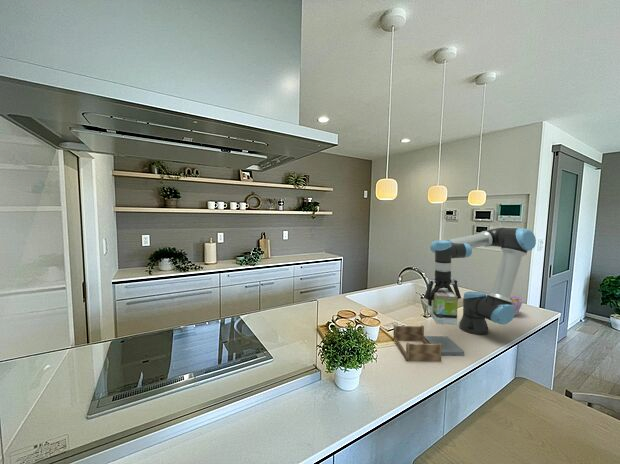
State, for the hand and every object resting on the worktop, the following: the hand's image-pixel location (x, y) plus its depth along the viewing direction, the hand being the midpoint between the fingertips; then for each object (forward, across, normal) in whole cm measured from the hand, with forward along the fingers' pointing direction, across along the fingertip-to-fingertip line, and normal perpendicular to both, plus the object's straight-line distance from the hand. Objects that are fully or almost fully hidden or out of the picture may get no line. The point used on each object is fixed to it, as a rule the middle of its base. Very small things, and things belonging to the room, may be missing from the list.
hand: (442, 311), depth 136 cm
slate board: (+19, 0, 0) cm, 19 cm away
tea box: (+4, 0, 0) cm, 4 cm away
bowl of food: (+21, -68, -49) cm, 86 cm away
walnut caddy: (+19, +15, +3) cm, 24 cm away
